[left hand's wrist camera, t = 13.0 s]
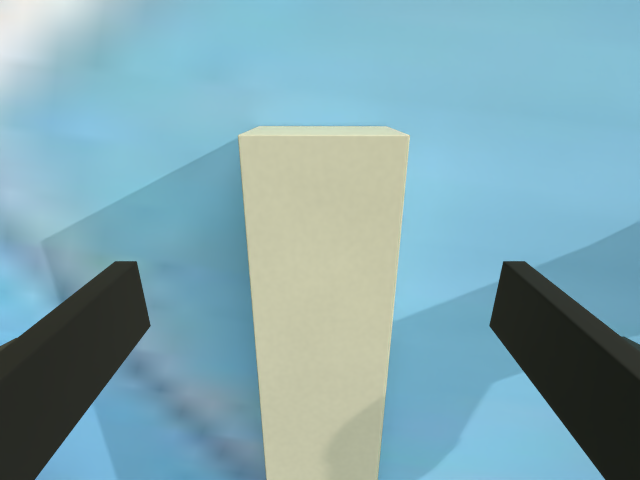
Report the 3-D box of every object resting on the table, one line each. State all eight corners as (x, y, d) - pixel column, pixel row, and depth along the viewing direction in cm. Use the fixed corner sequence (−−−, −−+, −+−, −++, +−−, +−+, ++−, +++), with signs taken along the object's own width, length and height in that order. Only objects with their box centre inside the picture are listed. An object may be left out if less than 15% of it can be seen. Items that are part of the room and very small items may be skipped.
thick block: (258, 126, 27) (237, 134, 20) (387, 126, 27) (410, 135, 20) (286, 591, 51) (281, 667, 44) (354, 591, 51) (360, 667, 44)
